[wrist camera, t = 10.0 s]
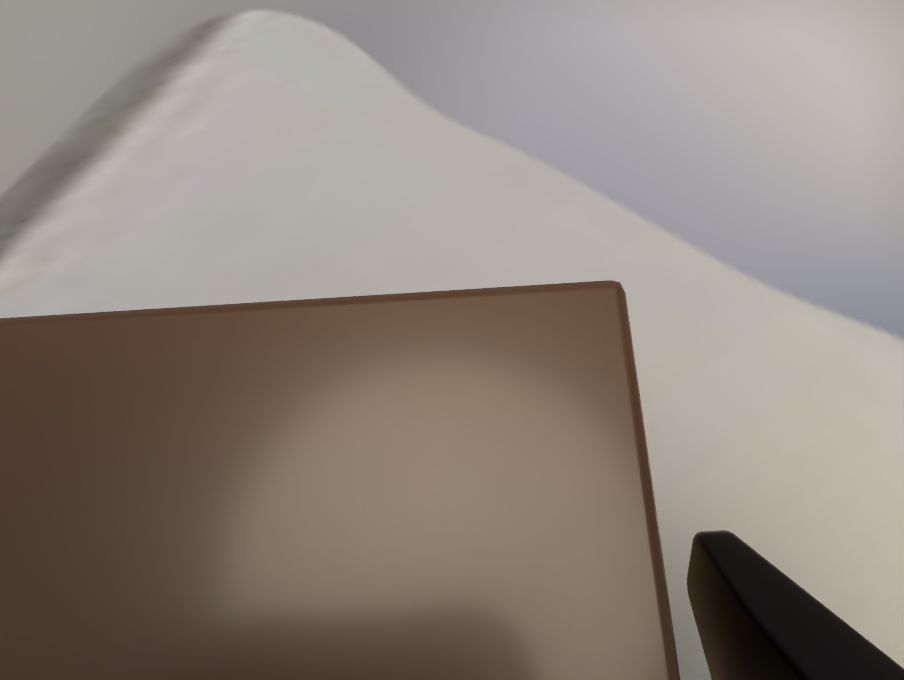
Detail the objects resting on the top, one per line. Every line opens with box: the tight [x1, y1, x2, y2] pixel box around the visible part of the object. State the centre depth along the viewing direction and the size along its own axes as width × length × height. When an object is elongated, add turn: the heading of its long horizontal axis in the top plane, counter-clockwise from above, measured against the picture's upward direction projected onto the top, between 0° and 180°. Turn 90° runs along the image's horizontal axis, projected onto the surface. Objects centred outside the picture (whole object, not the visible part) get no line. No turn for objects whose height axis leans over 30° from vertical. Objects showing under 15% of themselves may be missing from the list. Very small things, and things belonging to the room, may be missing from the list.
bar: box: [0, 281, 680, 680], centre depth 10 cm, size 4×5×12 cm
